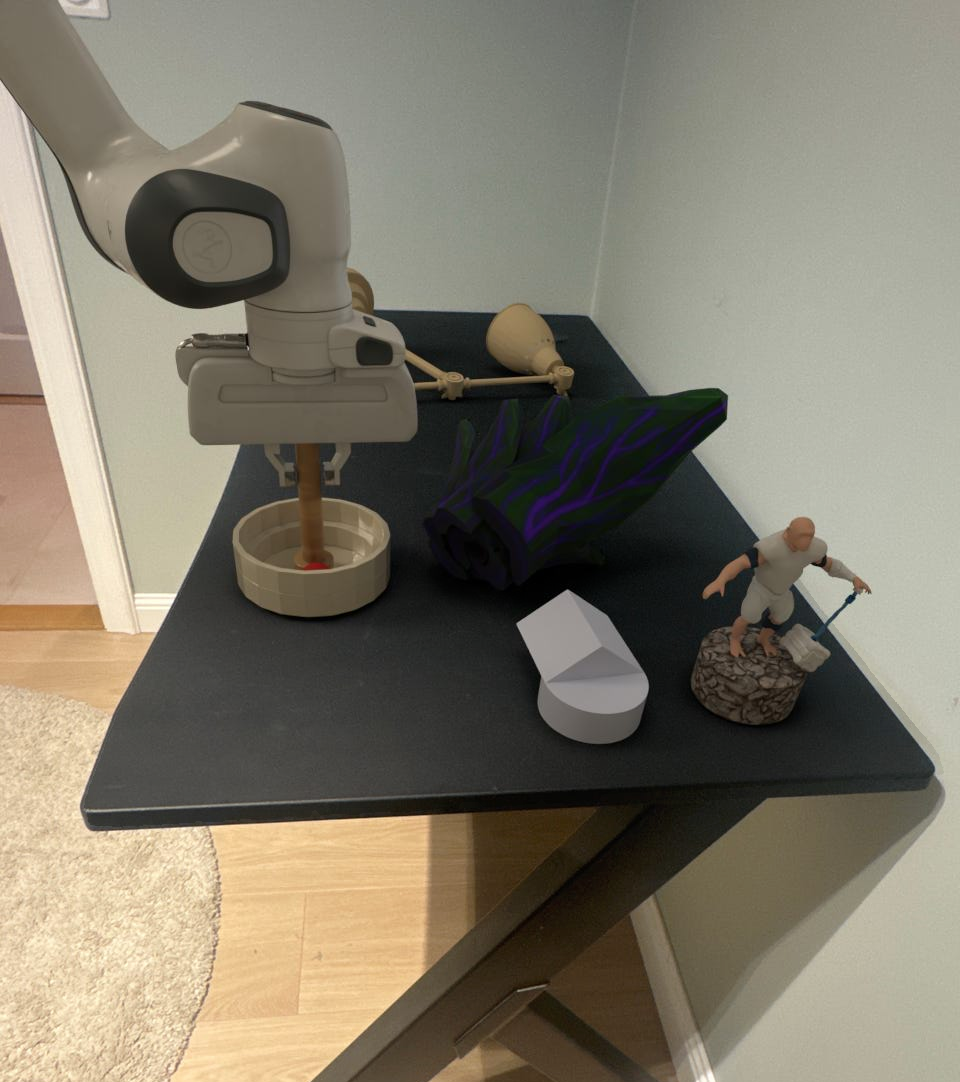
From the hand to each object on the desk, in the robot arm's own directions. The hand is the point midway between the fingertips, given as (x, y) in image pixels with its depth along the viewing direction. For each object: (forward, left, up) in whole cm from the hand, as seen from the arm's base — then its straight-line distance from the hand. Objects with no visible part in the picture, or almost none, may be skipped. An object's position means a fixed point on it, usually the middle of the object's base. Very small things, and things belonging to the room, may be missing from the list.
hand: (309, 483), depth 74 cm
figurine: (+37, -24, -11) cm, 45 cm away
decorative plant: (+25, +2, -11) cm, 27 cm away
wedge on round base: (+22, -22, -11) cm, 33 cm away
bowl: (0, -1, -10) cm, 11 cm away
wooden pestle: (0, 0, -10) cm, 10 cm away
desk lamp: (+26, +62, -11) cm, 69 cm away
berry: (0, -4, -8) cm, 9 cm away
